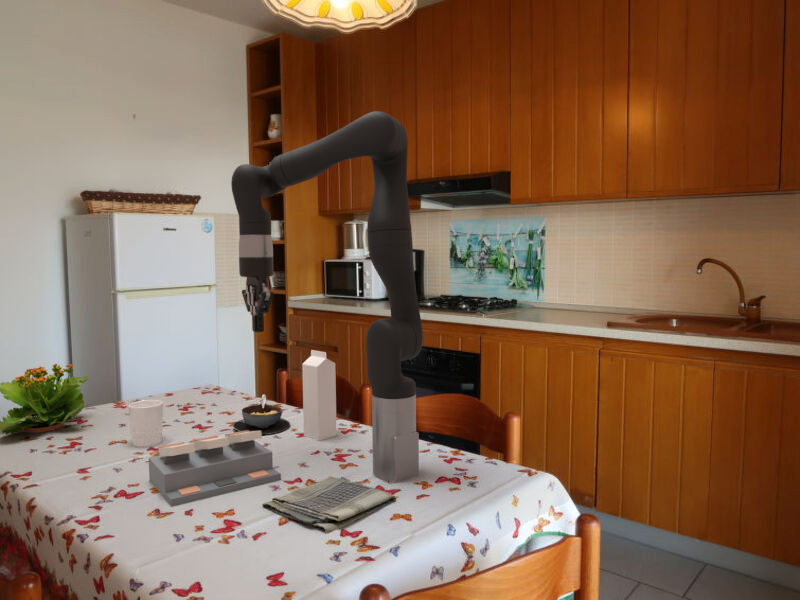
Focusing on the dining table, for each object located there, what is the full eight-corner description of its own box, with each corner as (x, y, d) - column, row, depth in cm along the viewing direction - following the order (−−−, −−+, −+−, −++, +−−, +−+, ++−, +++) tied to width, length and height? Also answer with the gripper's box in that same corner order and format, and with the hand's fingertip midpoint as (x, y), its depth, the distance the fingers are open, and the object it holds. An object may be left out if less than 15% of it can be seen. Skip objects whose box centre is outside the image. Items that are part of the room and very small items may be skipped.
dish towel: (331, 482, 127) (331, 467, 127) (398, 505, 116) (397, 488, 115) (258, 512, 113) (258, 495, 112) (326, 541, 101) (325, 522, 101)
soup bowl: (222, 435, 159) (221, 407, 158) (253, 419, 174) (252, 393, 174) (274, 439, 155) (273, 411, 154) (301, 422, 170) (300, 396, 170)
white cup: (170, 438, 156) (168, 400, 155) (154, 448, 148) (153, 408, 147) (140, 438, 156) (138, 399, 156) (123, 448, 149) (121, 407, 148)
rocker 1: (195, 451, 121) (193, 441, 121) (172, 456, 118) (170, 446, 119) (181, 451, 129) (180, 442, 129) (159, 455, 126) (158, 446, 127)
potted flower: (-13, 425, 169) (-17, 363, 168) (81, 410, 184) (78, 353, 183) (0, 447, 150) (-4, 377, 149) (104, 428, 165) (101, 364, 164)
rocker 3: (261, 438, 129) (260, 429, 129) (241, 442, 126) (240, 432, 127) (244, 439, 137) (243, 430, 137) (225, 443, 134) (224, 434, 135)
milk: (318, 441, 152) (316, 354, 150) (303, 436, 157) (301, 351, 155) (337, 435, 157) (335, 350, 155) (321, 431, 161) (319, 348, 159)
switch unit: (280, 480, 127) (280, 450, 126) (171, 507, 114) (169, 474, 113) (250, 459, 140) (250, 432, 139) (149, 481, 127) (148, 451, 126)
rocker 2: (229, 445, 125) (228, 435, 125) (208, 449, 122) (207, 439, 123) (213, 444, 133) (212, 435, 133) (193, 448, 130) (192, 439, 131)
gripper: (284, 255, 135) (285, 333, 137) (260, 255, 146) (262, 327, 147) (251, 255, 131) (253, 336, 132) (229, 255, 142) (231, 330, 143)
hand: (258, 331), depth 140 cm, fingers closed
